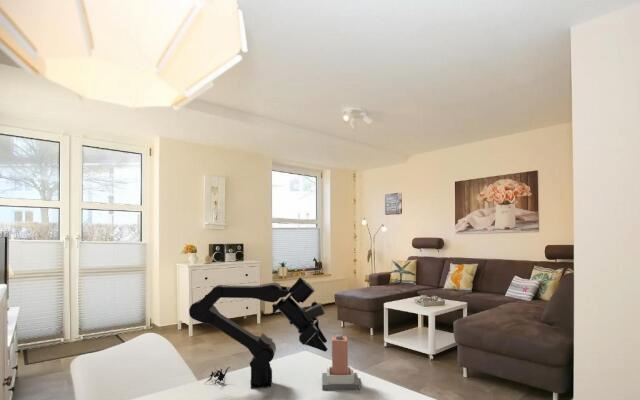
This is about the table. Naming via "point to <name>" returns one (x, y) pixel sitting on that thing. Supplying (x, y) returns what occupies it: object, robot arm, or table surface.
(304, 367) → the table surface
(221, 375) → the creature
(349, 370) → the grey socket base
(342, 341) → the pink square bar
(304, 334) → the robot arm
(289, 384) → the table surface
